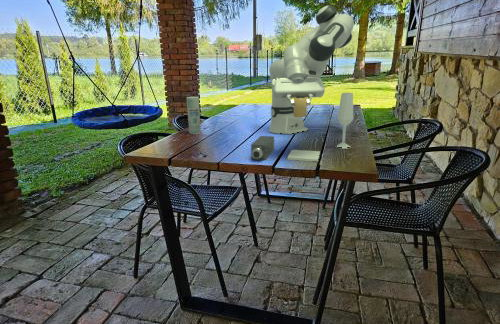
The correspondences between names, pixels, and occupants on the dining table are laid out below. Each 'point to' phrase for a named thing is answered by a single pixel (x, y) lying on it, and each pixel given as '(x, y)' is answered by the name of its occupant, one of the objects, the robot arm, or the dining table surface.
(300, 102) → the yellow cylinder
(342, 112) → the champagne flute
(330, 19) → the robot arm
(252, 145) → the motor housing
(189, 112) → the spray can
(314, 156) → the far side pad
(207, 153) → the dining table surface
